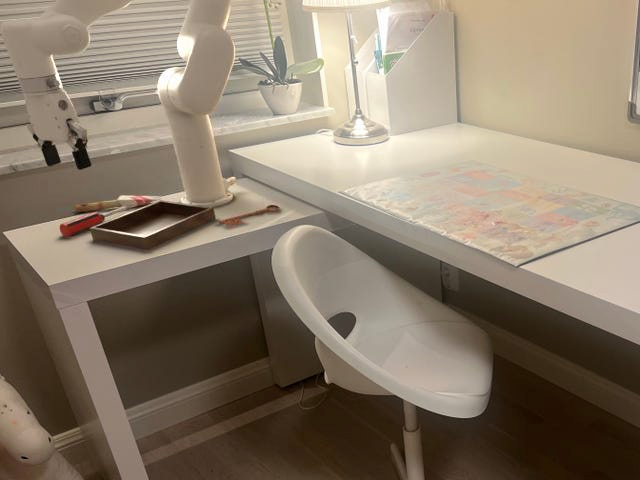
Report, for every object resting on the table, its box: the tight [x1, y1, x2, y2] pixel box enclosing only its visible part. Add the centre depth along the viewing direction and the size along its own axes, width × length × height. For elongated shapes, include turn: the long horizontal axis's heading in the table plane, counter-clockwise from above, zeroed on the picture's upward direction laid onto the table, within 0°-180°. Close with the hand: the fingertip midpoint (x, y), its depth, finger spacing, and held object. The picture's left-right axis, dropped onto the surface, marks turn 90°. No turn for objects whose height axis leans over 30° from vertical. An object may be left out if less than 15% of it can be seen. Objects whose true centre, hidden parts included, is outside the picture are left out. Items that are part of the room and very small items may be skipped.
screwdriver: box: [59, 206, 128, 238], centre depth 170 cm, size 17×3×3 cm, turn 155°
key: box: [218, 204, 281, 227], centre depth 172 cm, size 6×1×15 cm
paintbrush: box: [74, 194, 163, 213], centre depth 180 cm, size 4×3×20 cm
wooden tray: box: [89, 199, 217, 251], centre depth 165 cm, size 21×17×3 cm
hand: (69, 166), depth 160 cm, fingers open, 9 cm apart
